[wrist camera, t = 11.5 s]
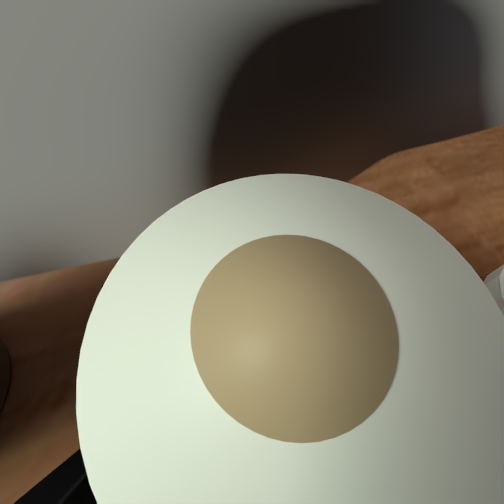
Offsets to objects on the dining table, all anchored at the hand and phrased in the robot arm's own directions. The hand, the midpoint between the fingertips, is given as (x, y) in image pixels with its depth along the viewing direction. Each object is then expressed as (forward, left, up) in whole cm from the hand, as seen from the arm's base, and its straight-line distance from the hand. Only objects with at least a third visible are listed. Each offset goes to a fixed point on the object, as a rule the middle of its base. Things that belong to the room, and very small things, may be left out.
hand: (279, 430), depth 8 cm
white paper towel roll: (+2, +1, -8) cm, 8 cm away
